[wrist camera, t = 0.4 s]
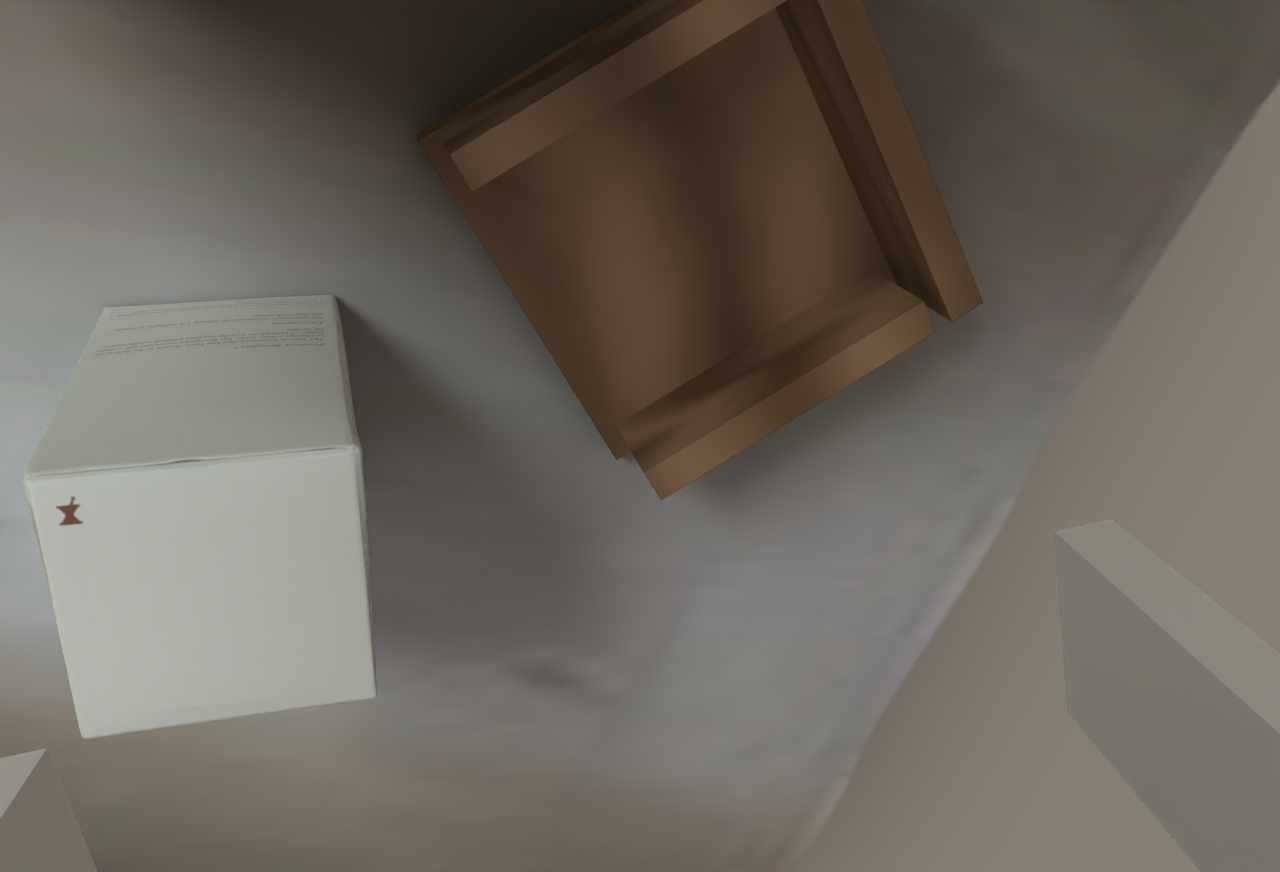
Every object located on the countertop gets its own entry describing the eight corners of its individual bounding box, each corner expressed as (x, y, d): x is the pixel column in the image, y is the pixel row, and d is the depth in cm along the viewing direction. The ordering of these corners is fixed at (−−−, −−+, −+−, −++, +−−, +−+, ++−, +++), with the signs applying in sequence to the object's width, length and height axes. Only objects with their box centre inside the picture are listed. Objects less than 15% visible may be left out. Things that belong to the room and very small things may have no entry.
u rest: (610, 449, 43) (645, 510, 39) (415, 136, 37) (431, 165, 33) (913, 263, 44) (983, 302, 39) (768, -78, 38) (831, -77, 33)
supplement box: (133, 514, 40) (67, 749, 29) (99, 301, 37) (11, 468, 26) (360, 494, 42) (381, 708, 30) (345, 289, 39) (361, 442, 27)
